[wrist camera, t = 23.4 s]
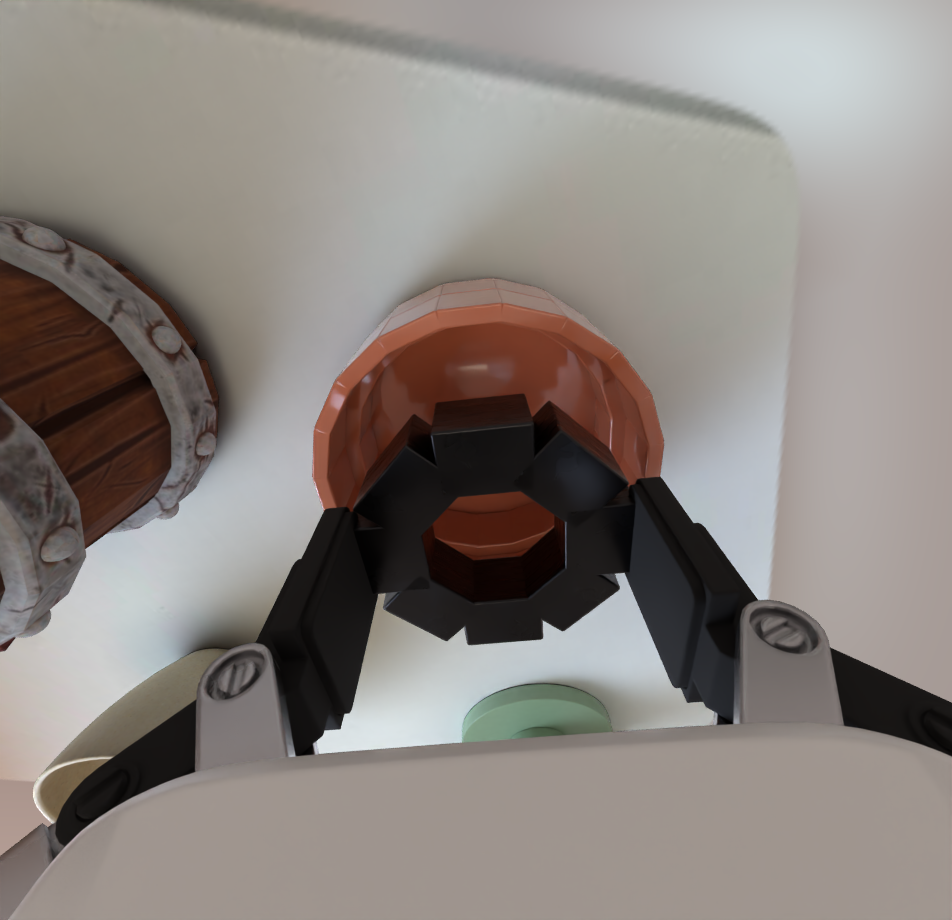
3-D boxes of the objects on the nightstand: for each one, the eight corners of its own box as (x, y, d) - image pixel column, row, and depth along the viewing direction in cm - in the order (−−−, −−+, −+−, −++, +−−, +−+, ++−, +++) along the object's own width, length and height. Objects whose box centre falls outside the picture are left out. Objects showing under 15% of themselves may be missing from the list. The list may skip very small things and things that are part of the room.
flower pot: (343, 695, 28) (307, 836, 22) (218, 735, 30) (153, 874, 24) (236, 594, 23) (152, 736, 17) (97, 649, 25) (-24, 794, 19)
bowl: (623, 260, 15) (685, 281, 11) (609, 511, 21) (646, 591, 17) (316, 295, 16) (260, 330, 12) (381, 533, 21) (359, 616, 17)
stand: (612, 677, 27) (727, 1050, 15) (605, 760, 32) (688, 1091, 20) (453, 690, 28) (442, 1065, 16) (470, 770, 33) (473, 1101, 21)
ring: (622, 382, 11) (648, 411, 9) (609, 587, 15) (626, 633, 13) (340, 411, 11) (319, 444, 10) (395, 606, 15) (386, 653, 13)
